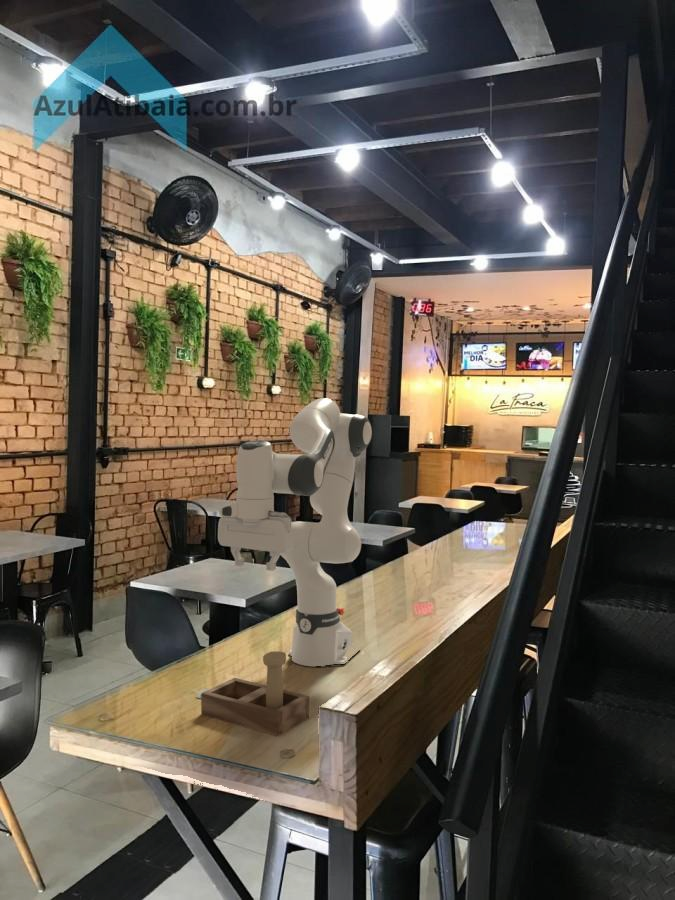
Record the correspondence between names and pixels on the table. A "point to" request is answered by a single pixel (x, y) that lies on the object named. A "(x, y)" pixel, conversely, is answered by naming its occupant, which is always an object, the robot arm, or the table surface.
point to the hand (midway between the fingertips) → (255, 567)
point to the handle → (274, 679)
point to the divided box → (254, 707)
